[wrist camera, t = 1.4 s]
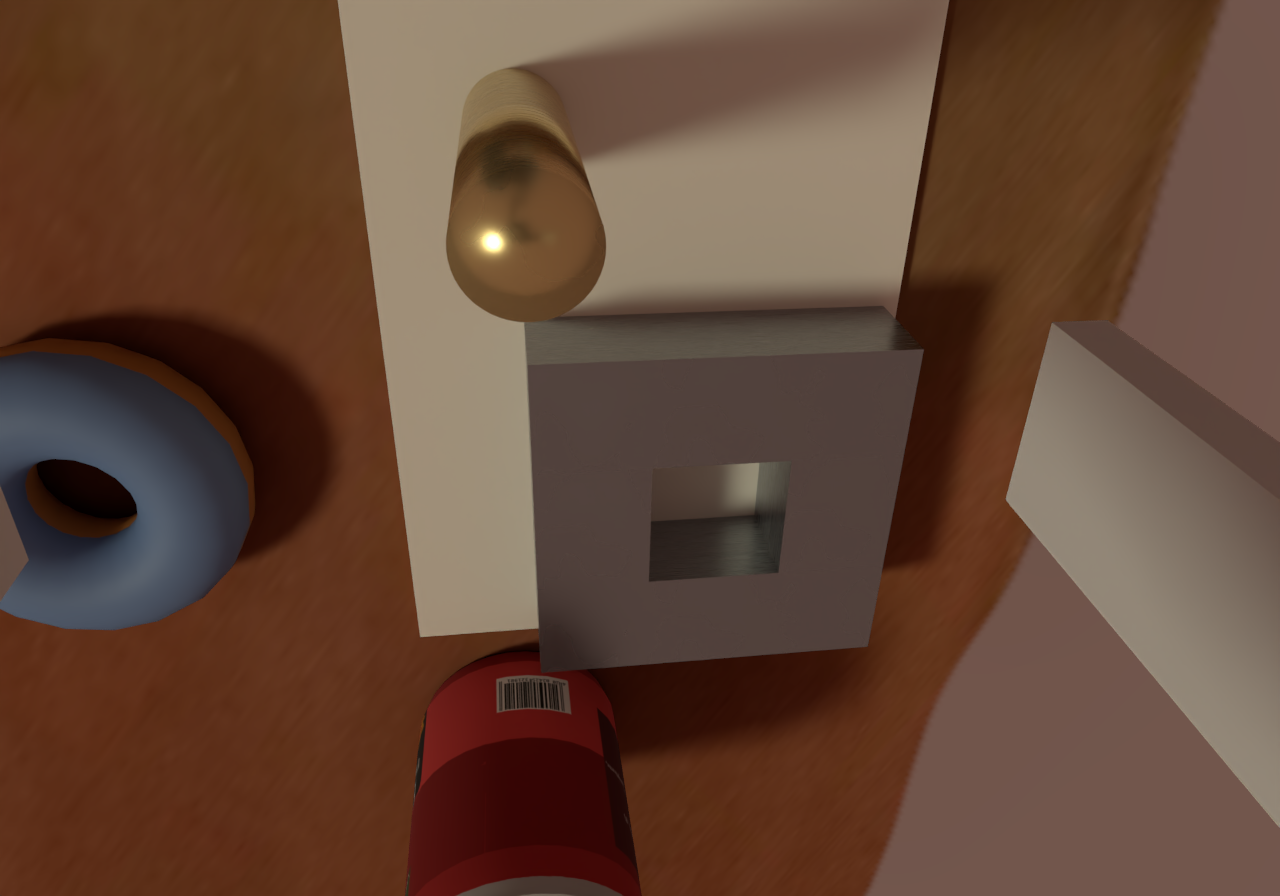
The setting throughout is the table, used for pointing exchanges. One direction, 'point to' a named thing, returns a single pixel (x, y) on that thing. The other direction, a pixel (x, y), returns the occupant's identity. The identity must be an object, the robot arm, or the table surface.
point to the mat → (621, 222)
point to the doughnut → (141, 461)
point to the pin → (522, 203)
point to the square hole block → (702, 436)
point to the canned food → (520, 787)
